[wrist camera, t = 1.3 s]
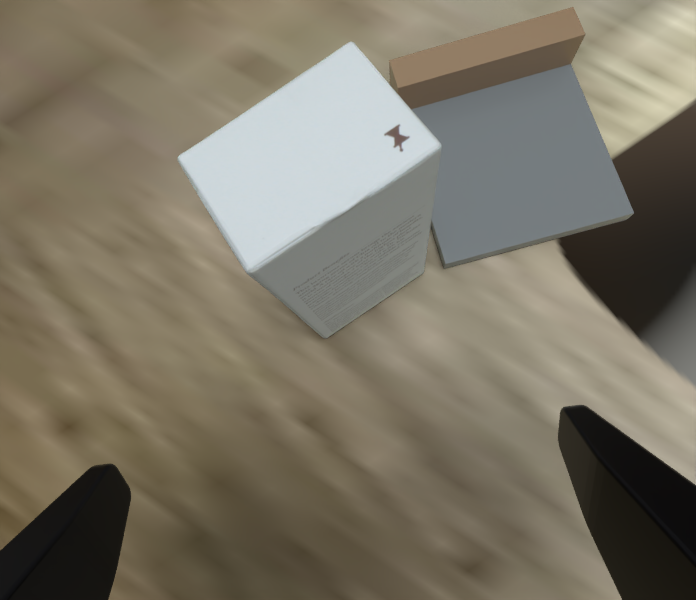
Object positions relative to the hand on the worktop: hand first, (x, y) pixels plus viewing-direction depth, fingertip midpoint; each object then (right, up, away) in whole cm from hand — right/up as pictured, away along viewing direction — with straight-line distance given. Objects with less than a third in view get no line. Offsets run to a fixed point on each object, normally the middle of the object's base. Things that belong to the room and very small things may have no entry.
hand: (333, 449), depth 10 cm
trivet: (+8, +10, +15) cm, 20 cm away
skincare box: (0, +4, +15) cm, 15 cm away
